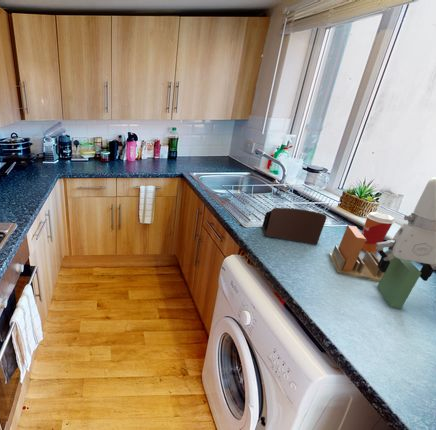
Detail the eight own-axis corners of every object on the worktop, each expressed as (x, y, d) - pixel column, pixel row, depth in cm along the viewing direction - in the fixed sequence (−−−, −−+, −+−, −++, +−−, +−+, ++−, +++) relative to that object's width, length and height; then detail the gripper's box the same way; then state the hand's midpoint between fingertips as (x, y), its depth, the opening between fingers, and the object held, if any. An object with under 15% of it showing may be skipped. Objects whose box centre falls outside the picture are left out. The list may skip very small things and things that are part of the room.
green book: (386, 288, 93) (404, 255, 87) (400, 309, 84) (421, 273, 79) (376, 286, 94) (393, 253, 88) (389, 306, 85) (409, 270, 80)
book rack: (381, 265, 105) (387, 253, 103) (397, 285, 94) (404, 273, 92) (328, 254, 111) (333, 243, 109) (337, 273, 100) (342, 261, 98)
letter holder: (317, 244, 118) (328, 213, 112) (264, 236, 123) (272, 206, 117) (310, 234, 126) (321, 204, 120) (261, 226, 132) (269, 198, 126)
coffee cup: (356, 242, 121) (370, 209, 114) (381, 250, 115) (398, 216, 109) (351, 248, 116) (365, 214, 109) (376, 257, 110) (393, 222, 104)
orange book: (343, 257, 108) (356, 226, 102) (351, 271, 99) (366, 239, 94) (335, 255, 109) (347, 225, 103) (342, 269, 100) (356, 237, 95)
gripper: (394, 222, 78) (370, 273, 85) (481, 234, 72) (447, 289, 79) (383, 212, 84) (361, 260, 91) (462, 222, 78) (432, 274, 85)
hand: (401, 274), depth 85 cm, fingers open, 9 cm apart
